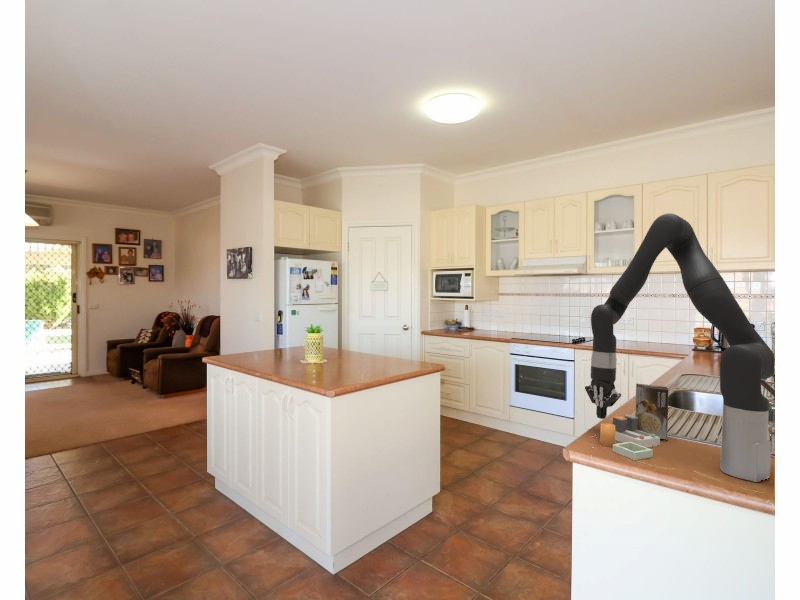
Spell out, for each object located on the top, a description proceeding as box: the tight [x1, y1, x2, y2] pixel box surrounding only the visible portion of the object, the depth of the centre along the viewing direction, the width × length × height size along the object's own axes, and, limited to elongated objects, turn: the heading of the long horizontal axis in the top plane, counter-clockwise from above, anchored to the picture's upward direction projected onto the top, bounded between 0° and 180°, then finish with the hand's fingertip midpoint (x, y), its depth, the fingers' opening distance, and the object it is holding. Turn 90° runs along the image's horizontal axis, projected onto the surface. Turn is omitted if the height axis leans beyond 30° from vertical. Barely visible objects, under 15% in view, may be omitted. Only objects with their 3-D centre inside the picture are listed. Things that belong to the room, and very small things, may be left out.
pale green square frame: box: [612, 442, 654, 461], centre depth 126 cm, size 7×7×2 cm
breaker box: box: [615, 428, 661, 448], centre depth 138 cm, size 11×9×3 cm
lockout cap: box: [599, 422, 616, 448], centre depth 134 cm, size 4×4×6 cm
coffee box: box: [634, 383, 669, 441], centre depth 144 cm, size 9×6×16 cm
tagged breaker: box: [612, 415, 627, 432], centre depth 139 cm, size 3×2×4 cm
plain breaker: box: [623, 414, 638, 430], centre depth 141 cm, size 3×2×4 cm
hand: (601, 418), depth 146 cm, fingers closed
